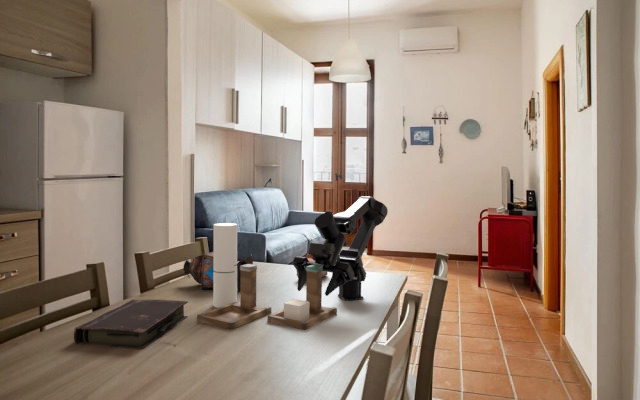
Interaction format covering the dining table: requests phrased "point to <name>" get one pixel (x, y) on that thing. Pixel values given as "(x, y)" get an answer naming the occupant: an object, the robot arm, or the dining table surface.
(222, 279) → the cylindrical container
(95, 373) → the dining table surface
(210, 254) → the patterned brown vase
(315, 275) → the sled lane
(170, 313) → the diary
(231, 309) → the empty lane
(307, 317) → the cube
